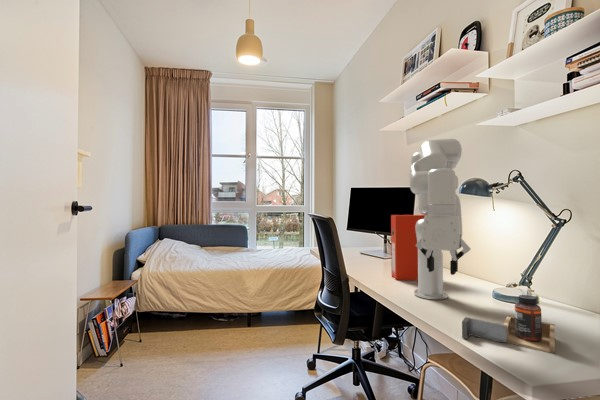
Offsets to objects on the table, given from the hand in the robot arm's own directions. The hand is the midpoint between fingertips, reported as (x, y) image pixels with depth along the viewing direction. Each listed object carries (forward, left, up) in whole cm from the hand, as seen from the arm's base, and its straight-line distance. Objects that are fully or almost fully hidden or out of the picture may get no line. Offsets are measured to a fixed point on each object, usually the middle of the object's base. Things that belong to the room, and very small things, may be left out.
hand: (442, 271), depth 92 cm
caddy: (-9, +20, -17) cm, 28 cm away
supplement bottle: (-9, +20, -17) cm, 28 cm away
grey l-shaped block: (-1, +11, -17) cm, 20 cm away
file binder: (-61, -31, -18) cm, 70 cm away
